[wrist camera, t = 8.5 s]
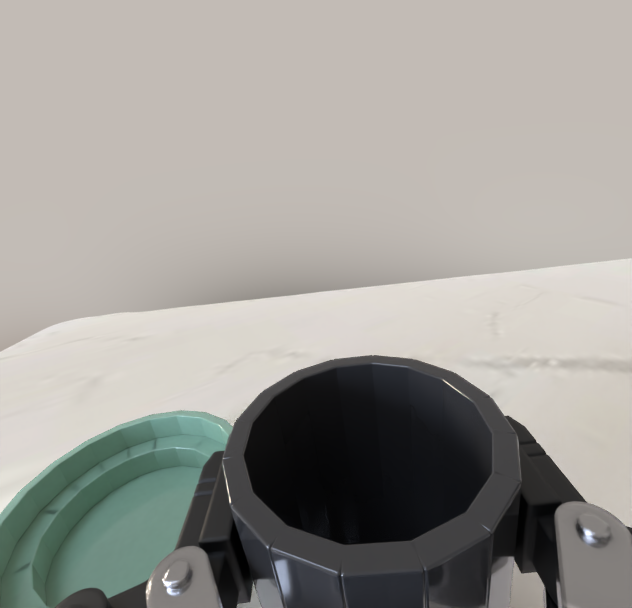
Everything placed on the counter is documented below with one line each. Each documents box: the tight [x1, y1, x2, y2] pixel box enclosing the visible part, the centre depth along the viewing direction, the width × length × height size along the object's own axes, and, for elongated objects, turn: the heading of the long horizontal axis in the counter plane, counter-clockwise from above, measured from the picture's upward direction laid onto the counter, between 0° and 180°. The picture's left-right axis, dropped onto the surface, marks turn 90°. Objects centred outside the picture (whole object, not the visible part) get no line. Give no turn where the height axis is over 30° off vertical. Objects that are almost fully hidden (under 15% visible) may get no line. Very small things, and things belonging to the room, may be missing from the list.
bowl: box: [0, 410, 233, 608], centre depth 20 cm, size 13×13×4 cm
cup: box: [222, 355, 522, 608], centre depth 10 cm, size 6×6×9 cm
